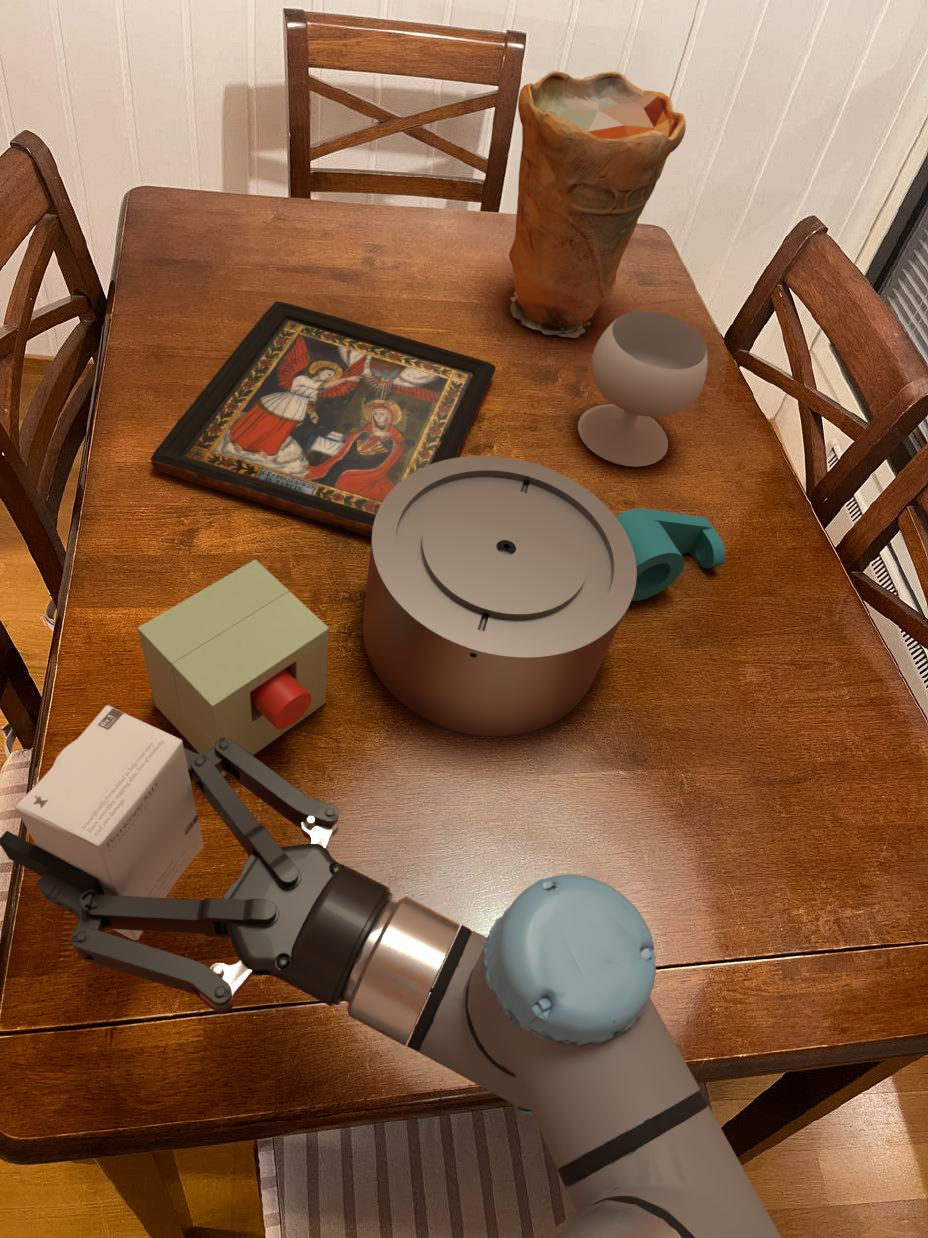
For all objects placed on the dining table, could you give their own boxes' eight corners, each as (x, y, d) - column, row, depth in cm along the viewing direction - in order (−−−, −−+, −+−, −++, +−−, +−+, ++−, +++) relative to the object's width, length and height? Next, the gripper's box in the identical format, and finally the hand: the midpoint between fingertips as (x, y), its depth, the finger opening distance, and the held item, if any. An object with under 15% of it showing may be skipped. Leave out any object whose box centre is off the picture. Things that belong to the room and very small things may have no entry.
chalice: (568, 395, 120) (598, 296, 108) (667, 410, 121) (707, 314, 109) (572, 465, 111) (605, 366, 99) (679, 480, 112) (724, 384, 101)
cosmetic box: (137, 944, 60) (98, 858, 48) (62, 904, 61) (6, 810, 49) (208, 840, 65) (188, 739, 53) (138, 805, 66) (103, 698, 54)
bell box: (325, 703, 85) (329, 628, 75) (221, 778, 78) (212, 706, 69) (259, 638, 88) (255, 558, 79) (154, 705, 82) (136, 627, 72)
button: (311, 710, 77) (312, 685, 74) (275, 737, 75) (274, 712, 72) (271, 670, 79) (270, 644, 76) (234, 695, 77) (232, 669, 74)
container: (613, 580, 100) (650, 496, 90) (577, 767, 84) (617, 692, 74) (402, 518, 101) (415, 428, 91) (328, 692, 85) (333, 607, 75)
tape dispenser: (585, 562, 101) (603, 514, 95) (694, 540, 106) (718, 493, 100) (611, 606, 98) (632, 560, 92) (722, 581, 103) (749, 535, 97)
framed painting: (246, 306, 121) (245, 287, 119) (496, 363, 122) (500, 345, 119) (139, 494, 97) (135, 474, 95) (451, 563, 98) (454, 546, 96)
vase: (627, 290, 139) (695, 83, 115) (612, 363, 126) (685, 147, 103) (497, 255, 139) (539, 42, 116) (469, 324, 126) (509, 100, 103)
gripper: (278, 1139, 50) (-49, 954, 53) (435, 833, 63) (163, 698, 66) (276, 1117, 44) (-91, 910, 48) (450, 784, 57) (150, 639, 60)
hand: (57, 787), depth 57 cm, fingers closed on cosmetic box, 8 cm apart
